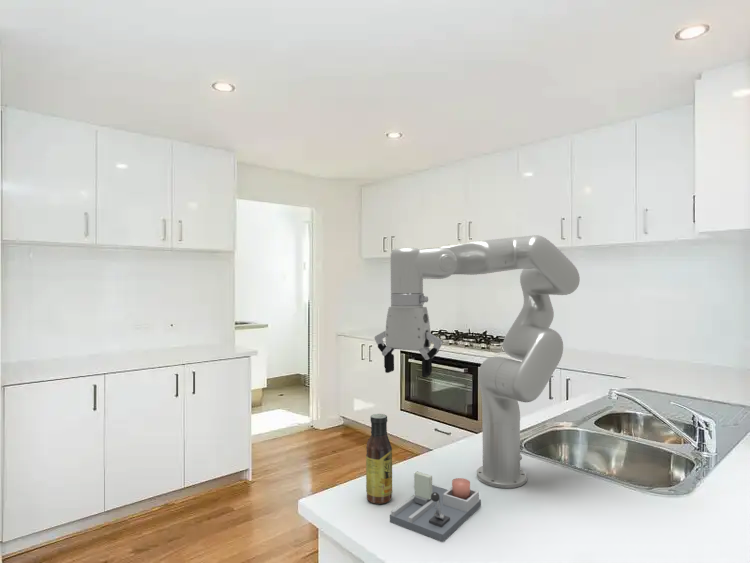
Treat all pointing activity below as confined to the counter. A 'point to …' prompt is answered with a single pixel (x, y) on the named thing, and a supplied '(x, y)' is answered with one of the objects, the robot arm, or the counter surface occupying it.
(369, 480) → the sauce bottle
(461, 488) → the button
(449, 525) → the panel
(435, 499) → the toggle
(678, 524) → the counter surface
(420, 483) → the pale green block
